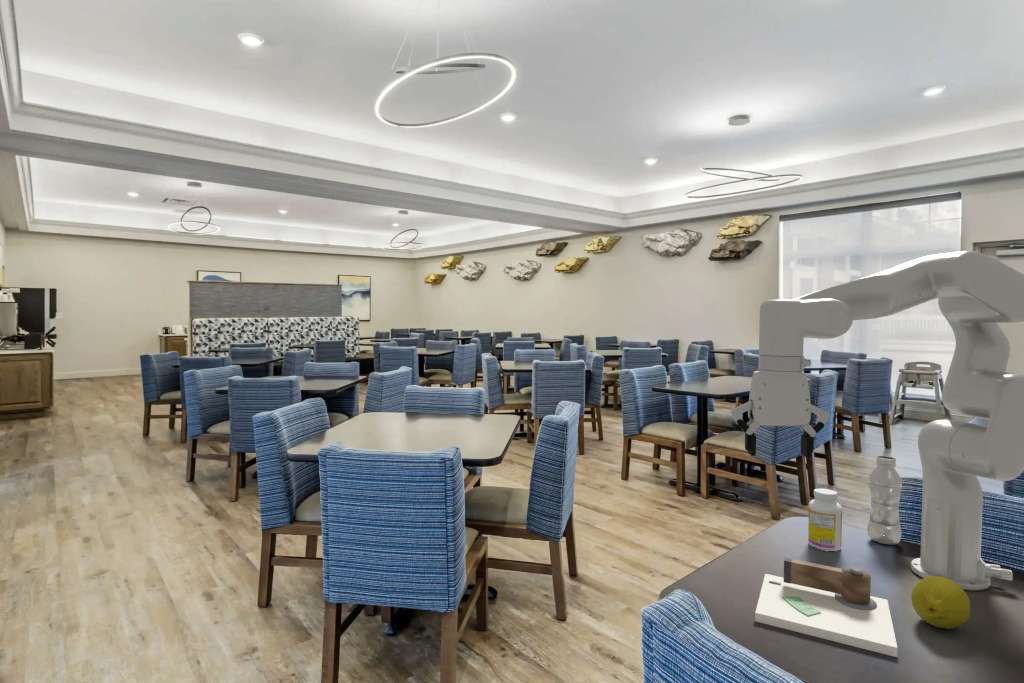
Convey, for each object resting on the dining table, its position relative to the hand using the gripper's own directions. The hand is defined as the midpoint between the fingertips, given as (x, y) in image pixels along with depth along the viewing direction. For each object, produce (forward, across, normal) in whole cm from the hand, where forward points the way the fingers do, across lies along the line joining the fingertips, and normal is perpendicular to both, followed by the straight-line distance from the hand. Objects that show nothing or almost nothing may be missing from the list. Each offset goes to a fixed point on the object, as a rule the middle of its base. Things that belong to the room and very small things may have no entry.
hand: (778, 455), depth 104 cm
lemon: (+26, -24, +8) cm, 36 cm away
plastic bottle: (+26, -33, -29) cm, 51 cm away
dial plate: (+26, -6, +8) cm, 28 cm away
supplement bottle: (+26, -18, -24) cm, 40 cm away
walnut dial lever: (+24, -8, +3) cm, 25 cm away
